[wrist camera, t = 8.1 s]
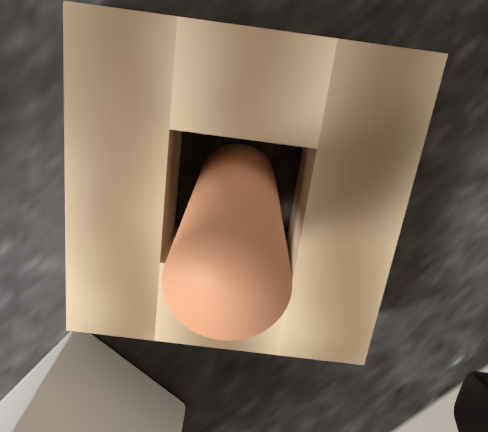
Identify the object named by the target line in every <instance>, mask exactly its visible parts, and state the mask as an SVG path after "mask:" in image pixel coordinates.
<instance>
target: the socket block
mask: <svg viewBox="0 0 488 432" xmlns="http://www.w3.org/2000/svg"><path fill="white" fill-rule="evenodd" d="M63 56H64V151H65V246H66V331H75V332H83V333H92V334H101V335H109V336H118V337H126V338H135V339H143V340H152V341H161V342H169V343H178V344H186V345H195V346H203V347H212V348H220V349H229V350H238V351H246V352H255V353H263V354H272V355H280V356H289V357H298V358H306V359H315V360H323V361H332V362H340V363H349V364H358V365H364V364H365V360H366V356H367V352H368V349H369V345H370V341H371V338H372V334H373V330H374V327H375V323H376V319H377V315H378V312H379V308H380V304H381V301H382V297H383V293H384V290H385V286H386V282H387V279H388V275H389V271H390V267H391V264H392V260H393V256H394V253H395V249H396V245H397V242H398V238H399V234H400V230H401V227H402V223H403V219H404V216H405V212H406V208H407V205H408V201H409V197H410V193H411V190H412V186H413V182H414V179H415V175H416V171H417V168H418V164H419V160H420V156H421V153H422V149H423V145H424V142H425V138H426V134H427V131H428V127H429V123H430V119H431V116H432V112H433V108H434V105H435V101H436V97H437V94H438V90H439V86H440V82H441V79H442V75H443V71H444V68H445V64H446V60H447V57H448V54H446V53H439V52H432V51H424V50H417V49H410V48H403V47H395V46H388V45H381V44H374V43H367V42H359V41H352V40H345V39H338V38H330V37H323V36H316V35H309V34H301V33H294V32H287V31H280V30H273V29H265V28H258V27H251V26H244V25H236V24H229V23H222V22H215V21H207V20H200V19H193V18H186V17H179V16H171V15H164V14H157V13H150V12H142V11H135V10H128V9H121V8H113V7H106V6H99V5H92V4H85V3H77V2H70V1H63ZM182 131H185V132H193V133H200V134H208V135H216V136H223V137H231V138H239V139H246V140H254V141H262V142H269V143H277V144H285V145H292V146H300V147H303V149H302V155H301V161H300V166H299V172H298V178H297V183H296V189H295V195H294V200H293V206H292V212H291V217H290V223H289V229H288V234H287V240H286V244H287V250H288V256H289V262H290V268H291V274H292V294H291V298H290V301H289V304H288V306H287V308H286V310H285V311H284V313H283V315H282V316H281V317H280V318H279V320H278V321H277V322H276V323H274V324H273V325H272V326H271V327H270V328H268V329H267V330H265V331H263V332H262V333H260V334H258V335H255V336H253V337H249V338H246V339H241V340H231V341H226V340H216V339H211V338H208V337H204V336H202V335H199V334H197V333H195V332H193V331H191V330H190V329H188V328H187V327H185V326H184V325H183V324H182V323H181V322H180V321H178V320H177V318H176V317H175V316H174V315H173V314H172V312H171V311H170V309H169V307H168V305H167V303H166V301H165V298H164V295H163V290H162V273H163V268H164V265H165V262H166V259H167V257H168V254H169V252H170V249H171V247H172V244H173V241H174V239H175V236H176V234H177V231H178V229H179V228H178V227H175V216H176V203H177V191H178V178H179V166H180V154H181V141H182Z"/></svg>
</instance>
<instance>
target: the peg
mask: <svg viewBox="0 0 488 432" xmlns="http://www.w3.org/2000/svg"><path fill="white" fill-rule="evenodd" d="M162 290H163V295H164V298H165V301H166V303H167V305H168V307H169V309H170V311H171V312H172V314H173V315H174V316H175V317H176V318H177V320H178V321H180V322H181V323H182V324H183V325H184V326H185V327H187V328H188V329H190V330H191V331H193V332H195V333H197V334H199V335H202V336H204V337H208V338H211V339H216V340H226V341H231V340H241V339H246V338H249V337H253V336H255V335H258V334H260V333H262V332H263V331H265V330H267V329H268V328H270V327H271V326H272V325H273V324H274V323H276V322H277V321H278V320H279V318H280V317H281V316H282V315H283V313H284V311H285V310H286V308H287V306H288V304H289V301H290V298H291V294H292V274H291V268H290V262H289V256H288V250H287V244H286V238H285V232H284V226H283V220H282V214H281V208H280V202H279V196H278V190H277V184H276V178H275V172H274V169H273V166H272V164H271V162H270V160H269V159H268V158H267V157H266V155H265V154H264V153H262V152H261V151H260V150H258V149H257V148H255V147H253V146H250V145H247V144H240V143H235V144H228V145H225V146H222V147H220V148H218V149H217V150H215V151H214V152H213V153H212V154H210V156H209V157H208V158H207V159H206V161H205V162H204V165H203V167H202V169H201V172H200V174H199V177H198V180H197V182H196V185H195V187H194V190H193V192H192V195H191V198H190V200H189V203H188V205H187V208H186V211H185V213H184V216H183V218H182V221H181V223H180V226H179V229H178V231H177V234H176V236H175V239H174V241H173V244H172V247H171V249H170V252H169V254H168V257H167V259H166V262H165V265H164V268H163V273H162Z"/></svg>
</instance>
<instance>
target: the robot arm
mask: <svg viewBox="0 0 488 432" xmlns="http://www.w3.org/2000/svg"><path fill="white" fill-rule="evenodd" d="M454 417H455V421H456V424H457V428H458V431H459V432H488V373H485V372H477V371H470V372H468V373H467V374H466V376H465V378H464V380H463V383H462V386H461V388H460V391H459V394H458V396H457V399H456V402H455V405H454Z"/></svg>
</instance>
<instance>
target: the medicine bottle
mask: <svg viewBox="0 0 488 432" xmlns="http://www.w3.org/2000/svg"><path fill="white" fill-rule="evenodd" d="M184 415H185V404H184V403H183V402H182V401H180V400H179V399H178V398H176V397H175V396H174V395H172V394H171V393H170V392H168V391H167V390H166V389H164V388H163V387H162V386H160V385H159V384H158V383H156V382H155V381H154V380H152V379H151V378H150V377H148V376H147V375H146V374H144V373H143V372H142V371H140V370H139V369H138V368H136V367H135V366H134V365H132V364H131V363H130V362H128V361H127V360H126V359H124V358H123V357H122V356H120V355H119V354H118V353H116V352H115V351H114V350H112V349H111V348H110V347H108V346H107V345H106V344H104V343H103V342H102V341H100V340H99V339H98V338H96V337H95V336H94V335H92V334H91V333H83V332H75V331H70V332H69V333H68V334H67V335H66V336H65V337H64V338H63V339H62V340H61V341H60V342H59V343H58V344H57V345H56V346H55V347H54V348H53V349H52V350H51V351H50V352H49V353H48V354H47V355H46V356H45V357H44V358H43V359H42V360H41V361H40V362H39V363H38V364H37V365H36V366H35V367H34V368H33V369H32V370H31V371H30V372H29V373H28V374H27V375H26V376H25V377H24V378H23V379H22V380H21V381H20V382H19V383H18V384H17V385H16V386H15V387H14V388H13V389H12V390H11V391H10V392H9V393H8V394H7V395H6V396H5V397H4V398H3V399H2V400H1V401H0V432H182V426H183V421H184Z"/></svg>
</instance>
